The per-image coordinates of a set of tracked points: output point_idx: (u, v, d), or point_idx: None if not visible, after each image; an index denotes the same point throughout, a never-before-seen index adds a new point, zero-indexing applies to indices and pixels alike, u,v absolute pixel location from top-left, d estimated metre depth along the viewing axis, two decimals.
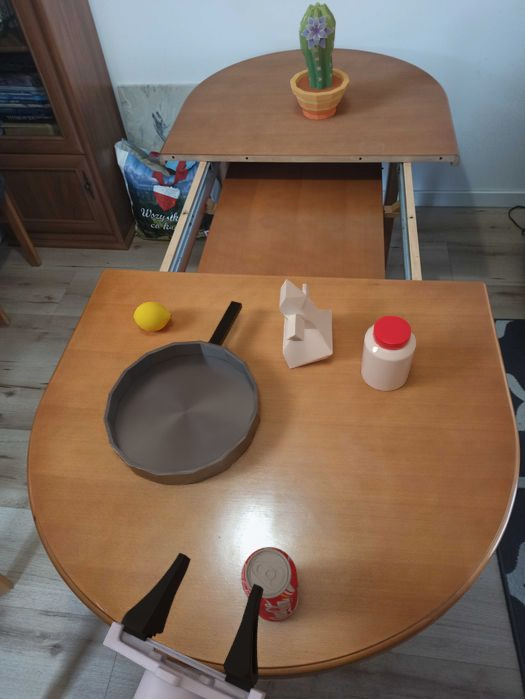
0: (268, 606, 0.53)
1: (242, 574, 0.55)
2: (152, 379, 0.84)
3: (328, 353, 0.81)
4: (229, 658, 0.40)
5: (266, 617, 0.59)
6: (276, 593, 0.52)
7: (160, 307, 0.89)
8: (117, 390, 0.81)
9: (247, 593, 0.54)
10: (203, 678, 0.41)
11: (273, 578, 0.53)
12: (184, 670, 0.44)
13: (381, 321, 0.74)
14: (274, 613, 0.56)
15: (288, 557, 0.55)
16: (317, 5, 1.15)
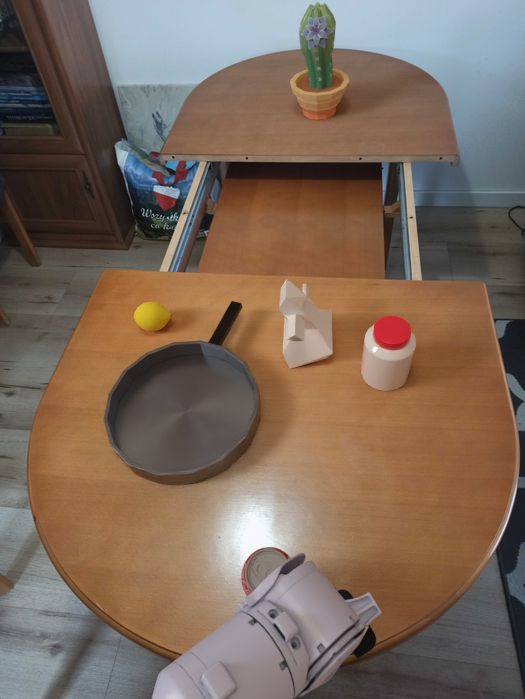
0: None
1: (242, 574, 0.55)
2: (152, 379, 0.84)
3: (328, 353, 0.81)
4: None
5: None
6: None
7: (160, 307, 0.89)
8: (117, 390, 0.81)
9: (247, 593, 0.54)
10: None
11: None
12: None
13: (381, 321, 0.74)
14: None
15: (288, 557, 0.55)
16: (317, 5, 1.15)
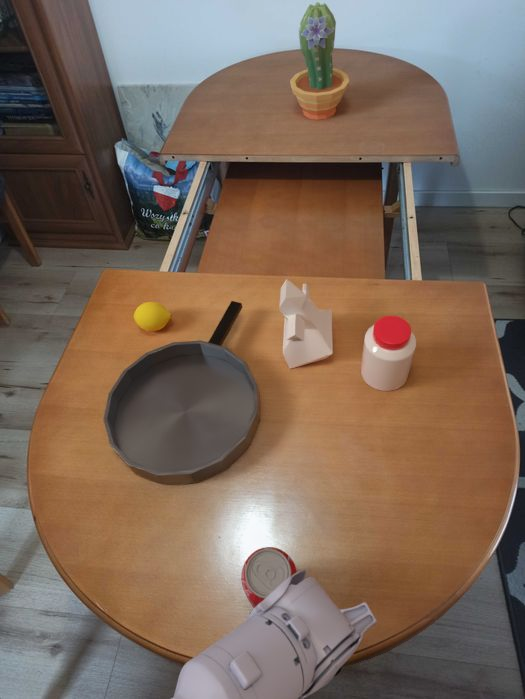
0: None
1: (242, 574, 0.55)
2: (152, 379, 0.84)
3: (328, 353, 0.81)
4: None
5: None
6: None
7: (160, 307, 0.89)
8: (117, 390, 0.81)
9: (247, 593, 0.54)
10: None
11: (273, 578, 0.53)
12: None
13: (381, 321, 0.74)
14: None
15: (288, 557, 0.55)
16: (317, 5, 1.15)
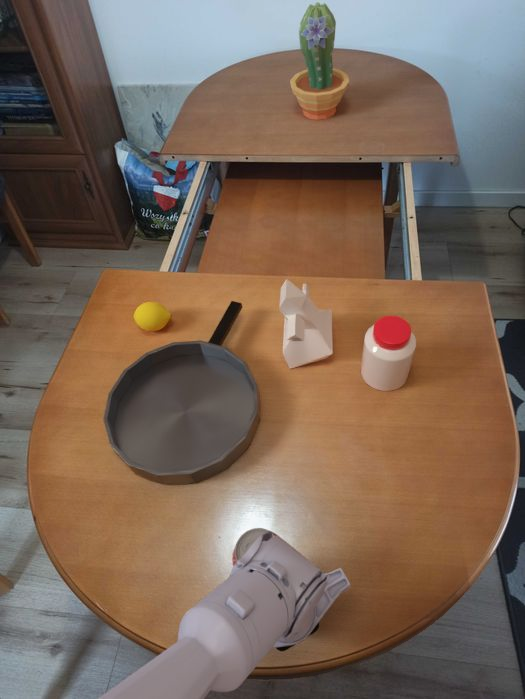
0: None
1: (233, 553, 0.56)
2: (152, 379, 0.84)
3: (328, 353, 0.81)
4: None
5: None
6: None
7: (160, 307, 0.89)
8: (117, 390, 0.81)
9: None
10: None
11: None
12: None
13: (381, 321, 0.74)
14: None
15: None
16: (317, 5, 1.15)
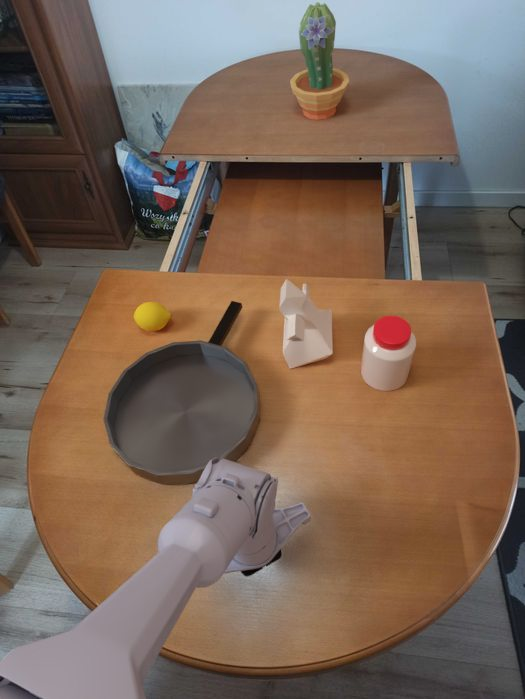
0: None
1: None
2: (152, 379, 0.84)
3: (328, 353, 0.81)
4: None
5: None
6: None
7: (160, 307, 0.89)
8: (117, 390, 0.81)
9: None
10: None
11: None
12: None
13: (381, 321, 0.74)
14: None
15: None
16: (317, 5, 1.15)
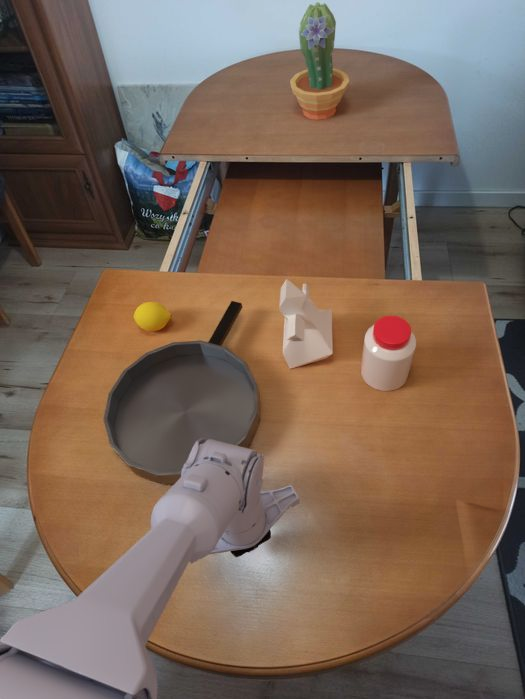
0: None
1: None
2: (152, 379, 0.84)
3: (328, 353, 0.81)
4: None
5: None
6: None
7: (160, 307, 0.89)
8: (117, 390, 0.81)
9: None
10: None
11: None
12: None
13: (381, 321, 0.74)
14: None
15: None
16: (317, 5, 1.15)
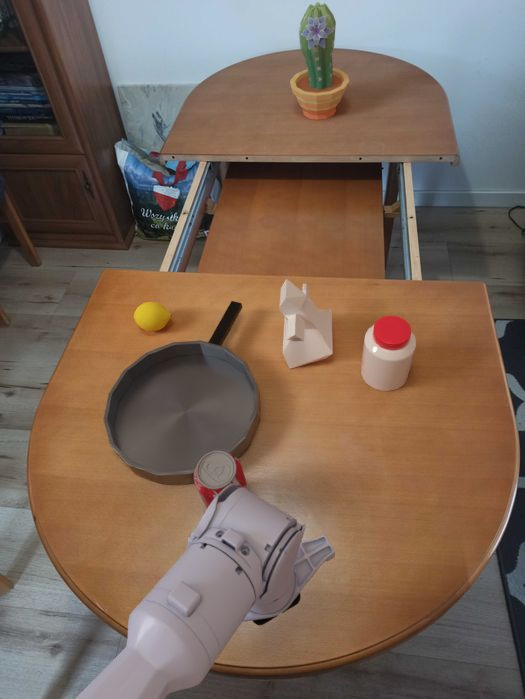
0: None
1: (194, 472, 0.62)
2: (152, 379, 0.84)
3: (328, 353, 0.81)
4: None
5: None
6: (223, 485, 0.60)
7: (160, 307, 0.89)
8: (117, 390, 0.81)
9: (198, 487, 0.61)
10: None
11: (220, 473, 0.61)
12: None
13: (381, 321, 0.74)
14: None
15: (235, 458, 0.63)
16: (317, 5, 1.15)
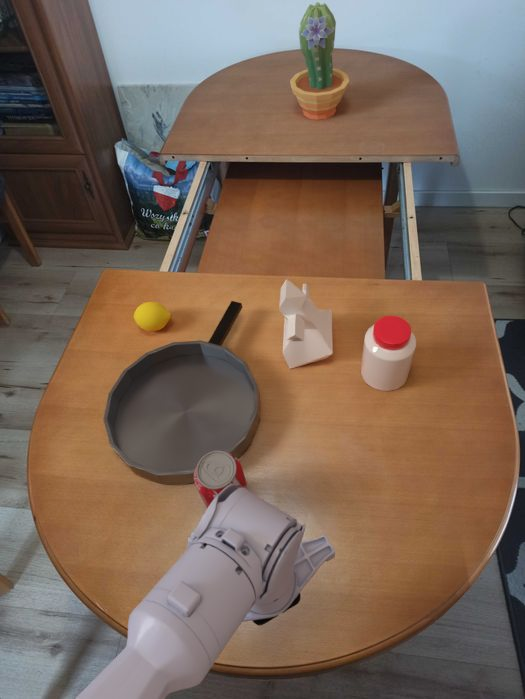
0: None
1: (194, 472, 0.62)
2: (152, 379, 0.84)
3: (328, 353, 0.81)
4: None
5: None
6: (223, 485, 0.60)
7: (160, 307, 0.89)
8: (117, 390, 0.81)
9: (198, 487, 0.61)
10: None
11: (220, 473, 0.61)
12: None
13: (381, 321, 0.74)
14: None
15: (235, 458, 0.63)
16: (317, 5, 1.15)
